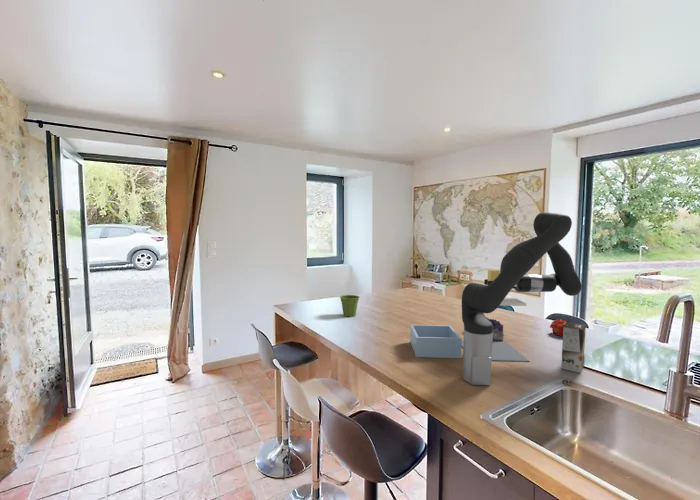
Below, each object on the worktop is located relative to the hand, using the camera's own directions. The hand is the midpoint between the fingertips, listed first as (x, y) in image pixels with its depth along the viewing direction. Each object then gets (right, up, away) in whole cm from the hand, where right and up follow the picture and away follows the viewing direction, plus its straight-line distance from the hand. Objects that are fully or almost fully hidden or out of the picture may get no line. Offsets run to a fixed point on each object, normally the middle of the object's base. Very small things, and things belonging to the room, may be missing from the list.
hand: (486, 282), depth 142 cm
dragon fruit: (+47, -28, +24) cm, 60 cm away
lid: (+3, -8, 0) cm, 8 cm away
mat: (+3, -29, +2) cm, 30 cm away
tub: (-21, -29, +3) cm, 36 cm away
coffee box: (+27, -31, -14) cm, 43 cm away
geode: (+10, -28, +24) cm, 38 cm away
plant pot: (-58, -25, +58) cm, 85 cm away
